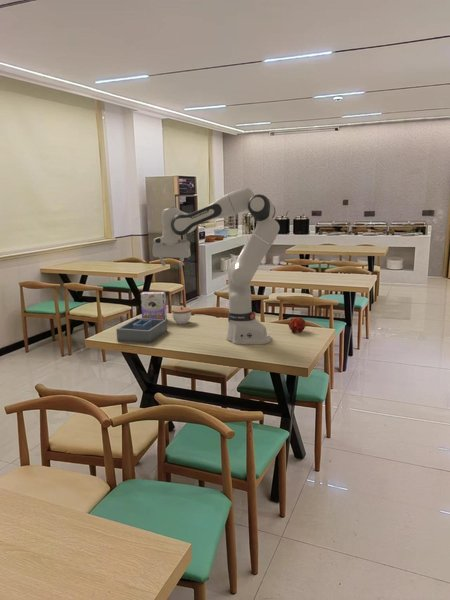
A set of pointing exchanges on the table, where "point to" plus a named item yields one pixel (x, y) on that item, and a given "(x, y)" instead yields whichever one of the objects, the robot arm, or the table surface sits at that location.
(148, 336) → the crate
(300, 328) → the dragon fruit
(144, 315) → the candy box
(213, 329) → the table surface
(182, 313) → the lidded jar
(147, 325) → the tote
